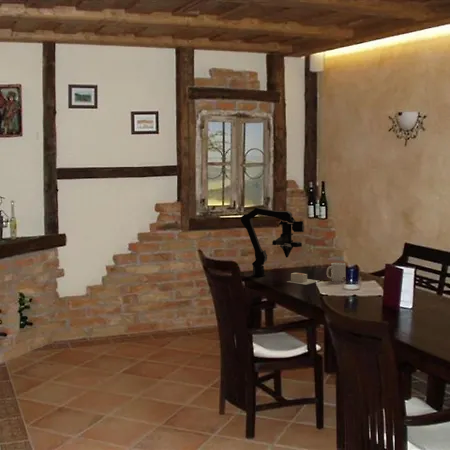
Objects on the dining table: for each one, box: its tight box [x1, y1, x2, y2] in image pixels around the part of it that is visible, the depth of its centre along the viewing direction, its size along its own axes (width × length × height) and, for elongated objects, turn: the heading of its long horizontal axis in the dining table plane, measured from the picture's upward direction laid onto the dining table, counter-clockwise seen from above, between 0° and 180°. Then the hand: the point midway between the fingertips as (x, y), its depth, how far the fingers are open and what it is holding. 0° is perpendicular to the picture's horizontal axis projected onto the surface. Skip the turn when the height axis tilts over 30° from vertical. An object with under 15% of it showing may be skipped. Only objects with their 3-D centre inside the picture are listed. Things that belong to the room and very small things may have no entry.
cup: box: [326, 262, 346, 283], centre depth 417 cm, size 8×12×10 cm
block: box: [290, 272, 308, 282], centre depth 418 cm, size 4×4×9 cm
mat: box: [286, 278, 319, 286], centre depth 416 cm, size 14×14×1 cm
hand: (286, 257), depth 431 cm, fingers closed
